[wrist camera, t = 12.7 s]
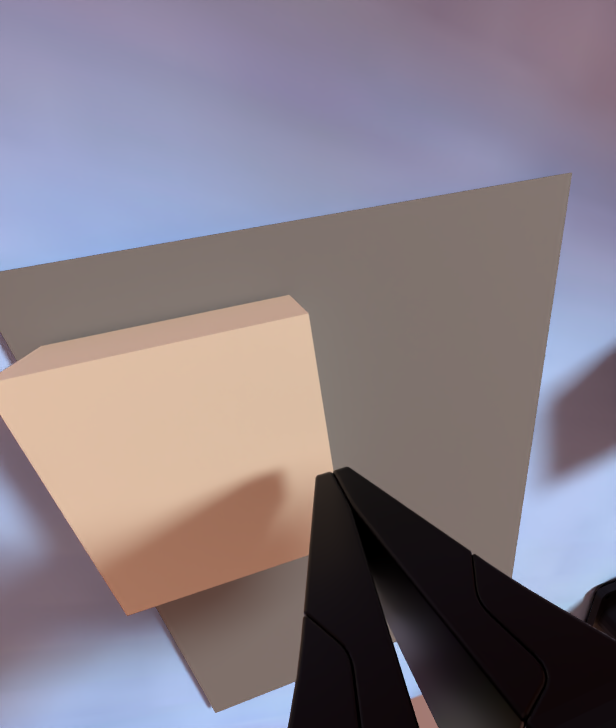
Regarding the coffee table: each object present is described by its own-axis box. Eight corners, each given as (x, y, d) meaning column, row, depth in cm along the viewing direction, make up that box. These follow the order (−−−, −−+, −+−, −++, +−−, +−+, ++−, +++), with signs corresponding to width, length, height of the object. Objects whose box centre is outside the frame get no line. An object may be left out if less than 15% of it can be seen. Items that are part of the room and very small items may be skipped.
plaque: (344, 542, 11) (126, 615, 10) (322, 486, 14) (145, 540, 12) (308, 313, 8) (-19, 384, 7) (288, 293, 10) (44, 343, 9)
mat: (504, 590, 21) (508, 596, 20) (215, 703, 18) (215, 713, 18) (560, 174, 11) (571, 172, 11) (-20, 275, 9) (-31, 277, 8)
